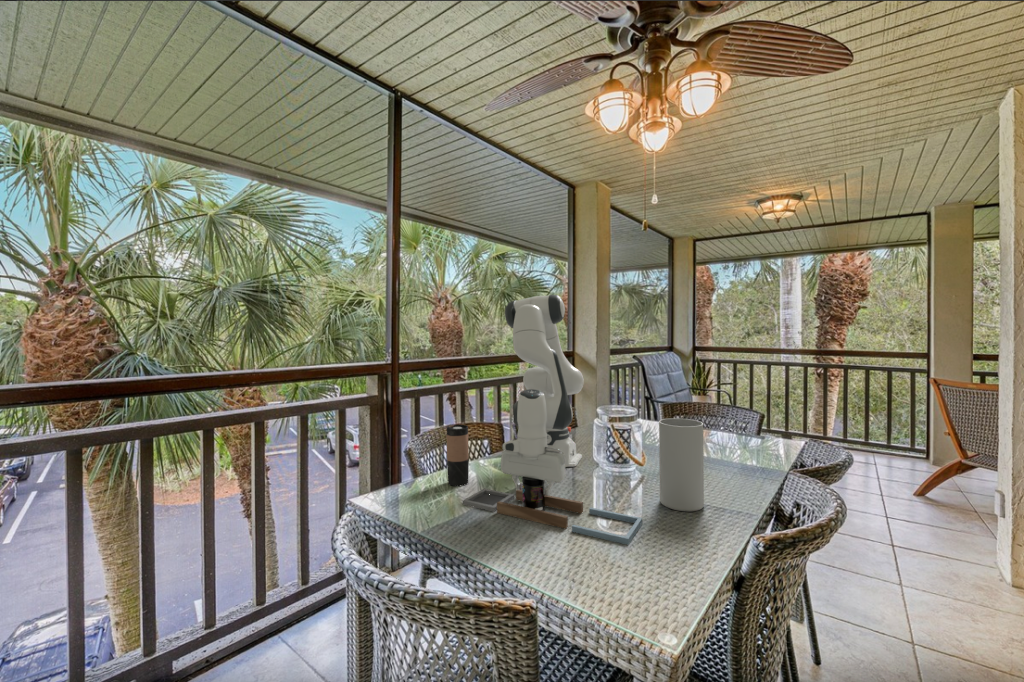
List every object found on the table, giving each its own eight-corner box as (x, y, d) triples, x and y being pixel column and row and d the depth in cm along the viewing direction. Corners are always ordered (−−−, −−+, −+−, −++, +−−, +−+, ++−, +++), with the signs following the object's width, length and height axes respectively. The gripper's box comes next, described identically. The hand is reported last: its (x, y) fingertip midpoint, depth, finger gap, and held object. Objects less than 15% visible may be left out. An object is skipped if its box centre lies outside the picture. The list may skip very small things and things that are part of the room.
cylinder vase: (708, 514, 125) (707, 427, 125) (662, 511, 128) (662, 426, 127) (698, 497, 137) (698, 418, 137) (657, 495, 140) (656, 417, 139)
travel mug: (467, 486, 150) (466, 429, 150) (445, 486, 151) (444, 429, 150) (470, 479, 158) (469, 424, 158) (449, 479, 158) (448, 424, 158)
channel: (517, 498, 139) (517, 489, 139) (583, 512, 128) (582, 502, 128) (497, 512, 128) (496, 502, 128) (566, 528, 117) (565, 517, 117)
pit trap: (484, 492, 145) (484, 488, 145) (514, 498, 139) (514, 494, 139) (462, 504, 135) (462, 500, 135) (494, 511, 129) (493, 507, 129)
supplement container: (536, 505, 133) (536, 471, 133) (550, 512, 128) (549, 477, 128) (518, 510, 130) (517, 475, 130) (530, 518, 124) (530, 481, 124)
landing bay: (590, 512, 127) (590, 507, 127) (642, 523, 120) (642, 517, 120) (571, 531, 115) (571, 526, 115) (628, 544, 108) (628, 538, 108)
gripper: (569, 447, 126) (569, 494, 126) (508, 439, 136) (509, 483, 136) (560, 452, 120) (560, 502, 121) (497, 443, 131) (498, 489, 131)
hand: (532, 492), depth 129 cm, fingers open, 8 cm apart
